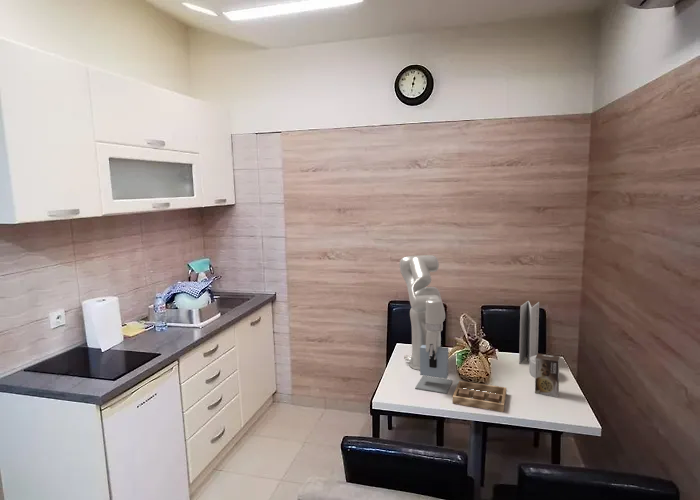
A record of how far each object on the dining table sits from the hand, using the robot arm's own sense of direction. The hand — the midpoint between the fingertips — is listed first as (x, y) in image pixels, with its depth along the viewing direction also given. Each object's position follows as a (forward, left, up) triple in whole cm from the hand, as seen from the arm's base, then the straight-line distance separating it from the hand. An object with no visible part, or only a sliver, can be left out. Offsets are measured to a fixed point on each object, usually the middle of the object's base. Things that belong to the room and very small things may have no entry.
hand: (434, 365), depth 192 cm
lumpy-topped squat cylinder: (+45, +29, -10) cm, 54 cm away
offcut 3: (+27, -10, -10) cm, 30 cm away
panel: (0, 0, -5) cm, 5 cm away
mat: (0, 0, -10) cm, 10 cm away
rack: (+21, -6, -10) cm, 24 cm away
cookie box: (+47, +10, -10) cm, 49 cm away
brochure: (+39, +46, -10) cm, 61 cm away
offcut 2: (+21, -10, -10) cm, 25 cm away
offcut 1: (+15, -10, -10) cm, 20 cm away
